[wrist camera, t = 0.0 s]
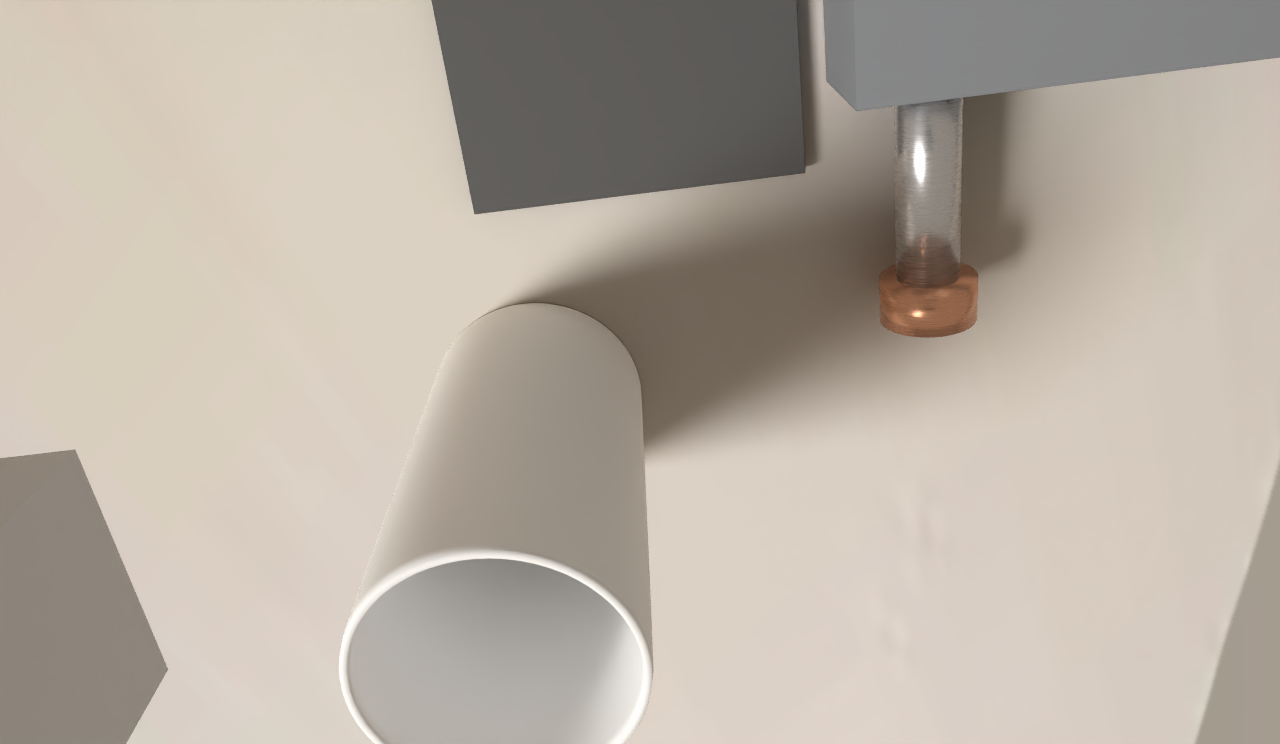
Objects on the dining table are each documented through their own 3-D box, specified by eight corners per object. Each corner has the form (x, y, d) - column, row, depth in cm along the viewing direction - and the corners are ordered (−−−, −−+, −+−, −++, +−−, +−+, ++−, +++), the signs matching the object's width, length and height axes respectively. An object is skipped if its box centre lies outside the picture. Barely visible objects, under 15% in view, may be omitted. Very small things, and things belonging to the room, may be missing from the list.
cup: (550, 261, 38) (510, 492, 24) (682, 411, 41) (716, 696, 27) (393, 383, 41) (269, 662, 26) (529, 517, 43) (485, 835, 29)
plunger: (863, 20, 34) (887, 34, 31) (965, 6, 34) (1000, 19, 31) (870, 305, 39) (892, 342, 36) (960, 294, 39) (990, 330, 36)
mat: (403, -156, 32) (400, -156, 32) (782, -208, 32) (785, -210, 31) (476, 209, 37) (474, 214, 37) (802, 168, 37) (805, 173, 37)
